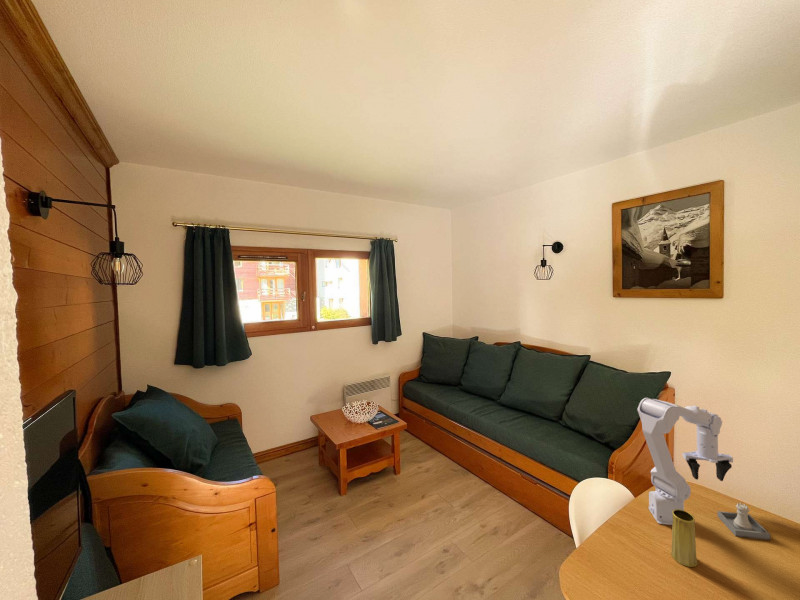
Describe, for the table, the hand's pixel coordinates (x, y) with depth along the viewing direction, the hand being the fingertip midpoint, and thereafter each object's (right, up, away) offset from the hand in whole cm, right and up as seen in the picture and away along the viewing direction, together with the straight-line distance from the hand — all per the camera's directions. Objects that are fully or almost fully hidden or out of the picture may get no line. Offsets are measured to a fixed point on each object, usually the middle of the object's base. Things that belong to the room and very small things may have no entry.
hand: (707, 478), depth 122 cm
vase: (-27, -14, -21) cm, 36 cm away
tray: (+2, -11, -11) cm, 15 cm away
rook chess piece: (+1, -11, -12) cm, 16 cm away
